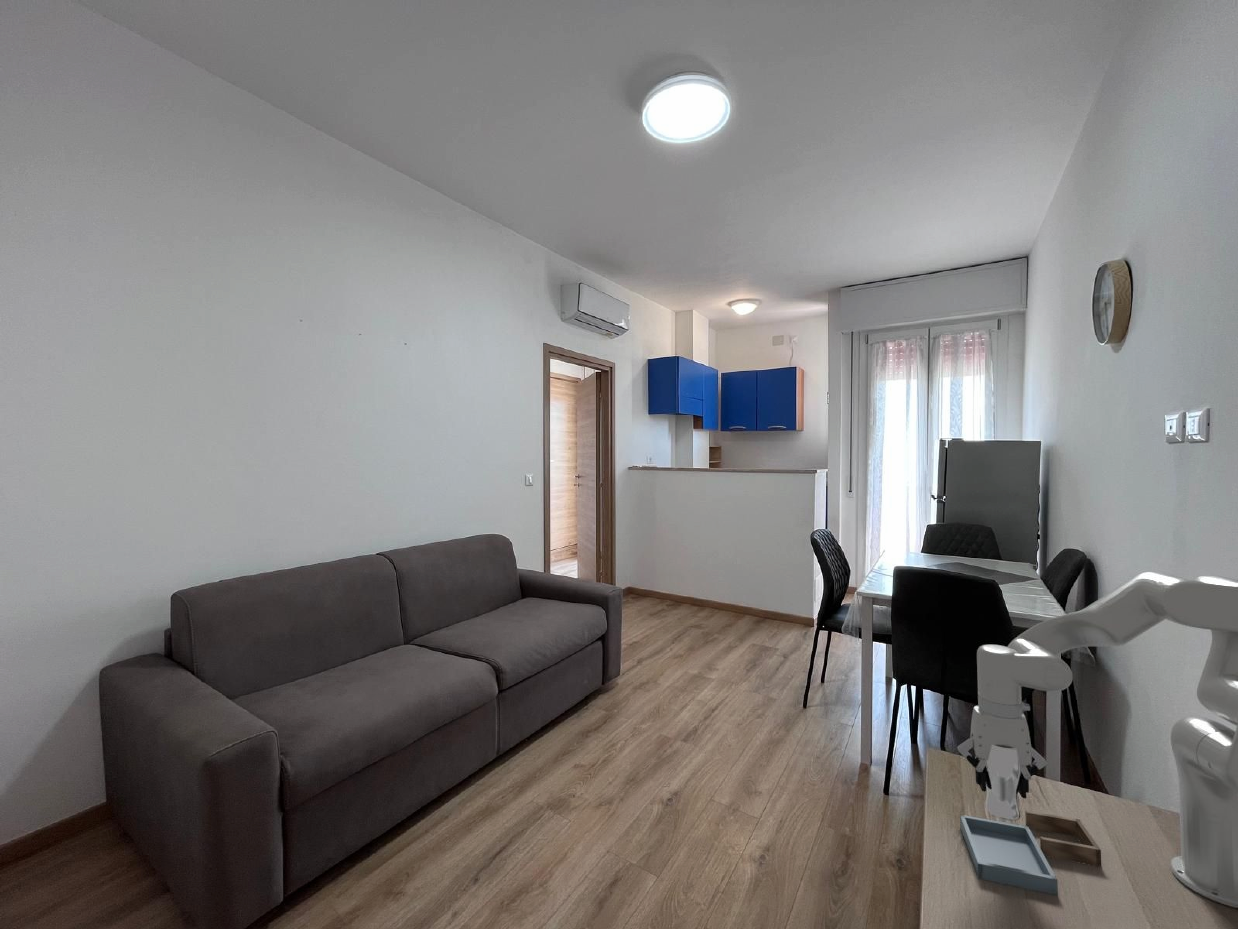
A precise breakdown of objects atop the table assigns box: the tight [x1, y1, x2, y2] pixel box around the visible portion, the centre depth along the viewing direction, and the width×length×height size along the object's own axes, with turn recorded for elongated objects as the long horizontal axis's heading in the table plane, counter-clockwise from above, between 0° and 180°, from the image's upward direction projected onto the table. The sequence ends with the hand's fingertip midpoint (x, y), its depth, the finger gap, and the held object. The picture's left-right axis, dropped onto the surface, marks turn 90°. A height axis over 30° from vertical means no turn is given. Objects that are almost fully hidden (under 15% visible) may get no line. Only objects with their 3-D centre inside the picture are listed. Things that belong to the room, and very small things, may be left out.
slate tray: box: [959, 814, 1059, 896], centre depth 113 cm, size 13×16×3 cm
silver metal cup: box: [984, 744, 1022, 822], centre depth 113 cm, size 7×7×15 cm
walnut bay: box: [1024, 810, 1102, 867], centre depth 116 cm, size 10×10×4 cm
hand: (1001, 790), depth 113 cm, fingers closed on silver metal cup, 6 cm apart
